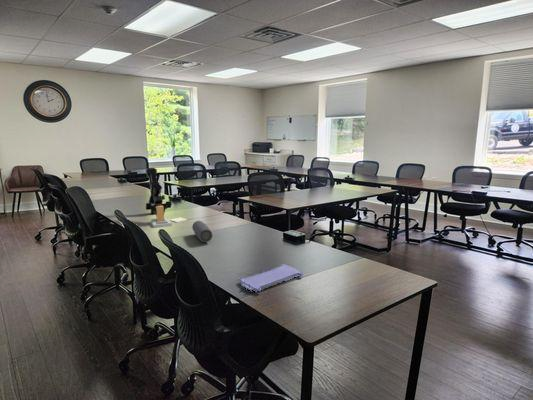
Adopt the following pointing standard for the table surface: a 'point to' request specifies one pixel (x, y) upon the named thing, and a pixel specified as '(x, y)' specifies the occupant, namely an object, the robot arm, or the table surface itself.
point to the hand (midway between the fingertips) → (160, 214)
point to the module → (160, 213)
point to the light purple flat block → (269, 277)
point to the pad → (178, 219)
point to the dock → (161, 223)
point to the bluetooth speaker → (202, 231)
